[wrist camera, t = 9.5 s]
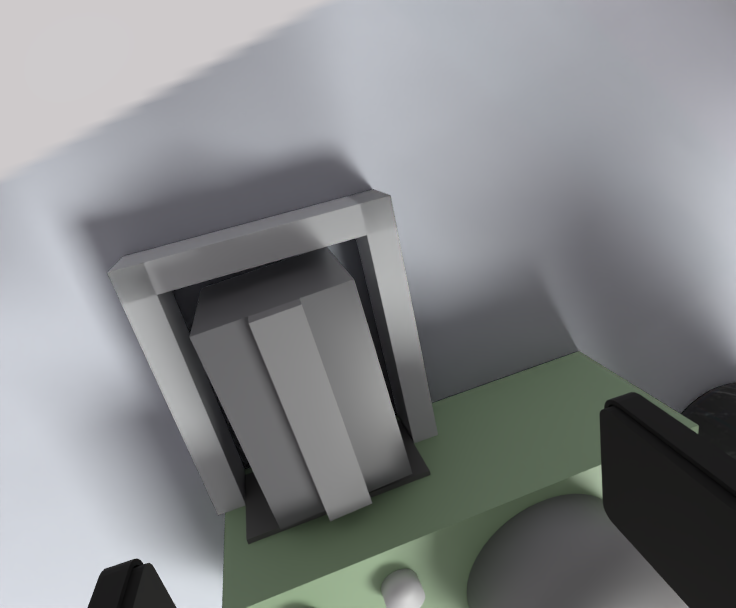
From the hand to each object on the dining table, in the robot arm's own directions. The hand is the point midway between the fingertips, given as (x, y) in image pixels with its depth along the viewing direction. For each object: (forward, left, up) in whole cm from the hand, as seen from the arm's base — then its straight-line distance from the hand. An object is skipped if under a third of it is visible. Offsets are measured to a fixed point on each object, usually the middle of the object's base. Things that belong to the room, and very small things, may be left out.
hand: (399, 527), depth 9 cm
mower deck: (-3, +3, -9) cm, 10 cm away
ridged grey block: (+1, 0, -9) cm, 9 cm away
